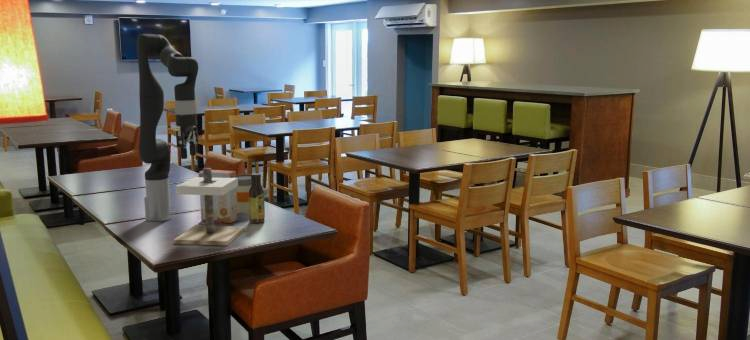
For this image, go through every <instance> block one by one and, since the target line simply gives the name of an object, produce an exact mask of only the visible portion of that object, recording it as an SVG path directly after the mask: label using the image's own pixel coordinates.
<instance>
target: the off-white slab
mask: <svg viewBox="0 0 750 340" xmlns="http://www.w3.org/2000/svg"><path fill="white" fill-rule="evenodd" d="M237 186H238V178H212V184H209V183H204V178H203V177H199V176H195V177H192V178H190V179H188V180H186V181H184V182H182V183H179V184H177V185H176V186H175V190H176V192H175V193H176V195H186V196H187V195H190V196H191V195H194V196H195V195H196V196H200V195H224V194H225V193H227V192H229V191H230V190H232V189H234V188H235V187H237Z"/></svg>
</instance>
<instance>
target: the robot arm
mask: <svg viewBox="0 0 750 340" xmlns="http://www.w3.org/2000/svg"><path fill="white" fill-rule="evenodd" d="M136 53H137V54H136V55H137V65H138V75H139V76H138V77H139V78H138V79H139V81H138V82H139V87H138V89H139V92H138V93H139V123H140V124H139V125H140V126H139V136H138V137H139V138H138V155H139V158H140V160H141V161H142V162H143V163H145V164H147V165H148V164H150V167H149V168H148V169H147V170H146V171H144V184H145V197H144V198H143V201H144V213H145V216H144V217H145V221H149V222H165V221H168V220H170V219H172V211H171V210H172V209H171V208H172V207H171V197H170V181H169V180H170V179H169V174H170V171H171V151H170V146H169V144H168V143H167V141H166V140H164V139H162V138H157V137H156V136H157V135H156V134H157V128H158V124H159V122H160V120H161V118H162V116H163V112H164V108H165V94H164V90H163V87H162V86H161V84H160V82H159V81H158V80H157V78H156V77H155V75H154V74H153V71H152V69H151V67H150V66H151V65H150V63H149V59H159V61H160V62H161V64H163V66H165V68H167V72H168V74H169V75H170V76H171V77H176V78H185V77H186V79H185V81H184V82H182V83H177V84H176V85H174V114H175V116H174V117H175V126H176V127H179V130H176V132H175V134H176V135H175V138H176V139H175V140H176V148H179V150H180V159H181V160H186V159H188V144H189V155H190V156H196V155H197V144H198V143H199V131H198V127H197V125H198V114H197V113H198V112H197V103H196V94H195V93H196V91H195V90H196V81H197V76H198V72H199V63H198V61H197V60H196V58H195V57H192V56H184V55H182V53H180V52H179V51H177V50H176V49H175V48H174V47H173V46H172V45H171V43H170V41H169V40H168V39H167V38H166V37H165V36H163V35H161V34H154V33H153V34H152V33H140V34H138V36H137V39H136Z"/></svg>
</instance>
